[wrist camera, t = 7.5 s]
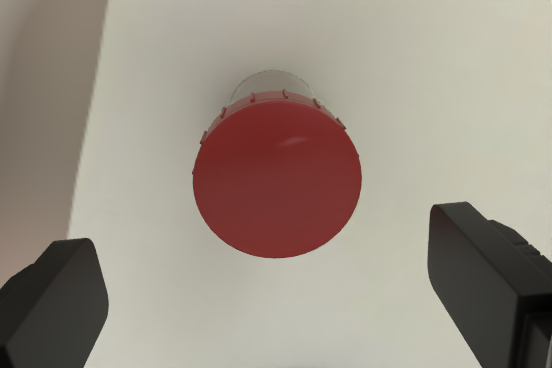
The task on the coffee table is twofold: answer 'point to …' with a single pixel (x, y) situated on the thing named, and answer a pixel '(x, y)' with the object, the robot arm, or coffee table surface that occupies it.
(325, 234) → the lid
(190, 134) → the coffee table surface
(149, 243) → the coffee table surface
